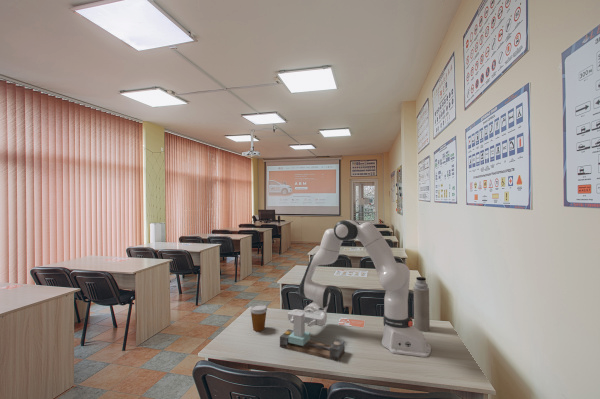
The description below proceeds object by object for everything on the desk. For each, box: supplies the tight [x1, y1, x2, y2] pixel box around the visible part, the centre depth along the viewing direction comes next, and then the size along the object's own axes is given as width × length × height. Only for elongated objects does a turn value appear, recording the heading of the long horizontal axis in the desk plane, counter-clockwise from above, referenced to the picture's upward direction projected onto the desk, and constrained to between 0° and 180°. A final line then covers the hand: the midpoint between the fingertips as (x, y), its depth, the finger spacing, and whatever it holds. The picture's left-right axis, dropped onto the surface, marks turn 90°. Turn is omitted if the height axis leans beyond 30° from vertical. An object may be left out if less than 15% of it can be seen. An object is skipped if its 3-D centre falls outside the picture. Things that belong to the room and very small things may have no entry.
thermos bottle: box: [412, 276, 431, 332], centre depth 160 cm, size 8×8×28 cm
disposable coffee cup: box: [249, 304, 268, 332], centre depth 162 cm, size 10×10×12 cm
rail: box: [279, 328, 346, 362], centre depth 138 cm, size 30×9×6 cm, turn 64°
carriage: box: [288, 312, 311, 346], centre depth 141 cm, size 8×8×13 cm
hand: (300, 323), depth 142 cm, fingers open, 8 cm apart
